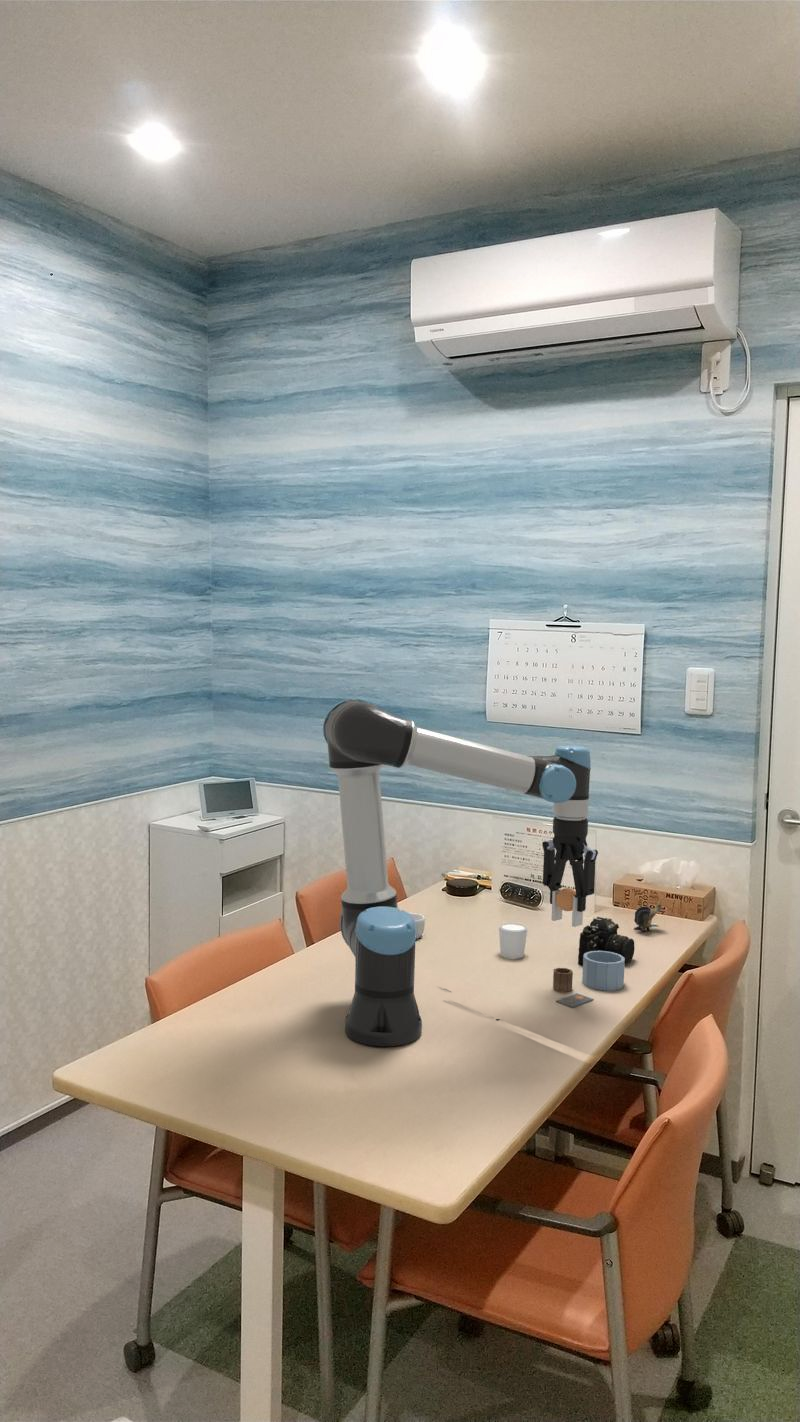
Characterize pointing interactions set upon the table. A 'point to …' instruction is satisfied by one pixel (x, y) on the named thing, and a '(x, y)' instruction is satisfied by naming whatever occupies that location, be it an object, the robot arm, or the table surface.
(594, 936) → the film camera
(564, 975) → the tube
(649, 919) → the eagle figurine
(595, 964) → the tube
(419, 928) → the teacup
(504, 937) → the white cylinder
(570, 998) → the card
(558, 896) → the ball
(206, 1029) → the table surface
